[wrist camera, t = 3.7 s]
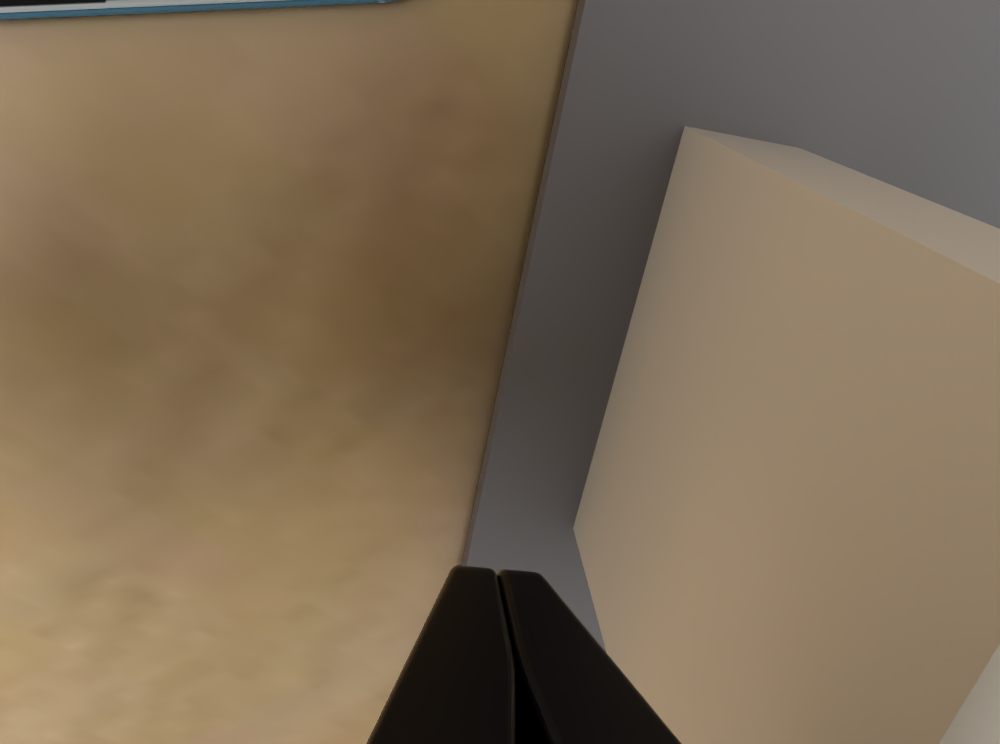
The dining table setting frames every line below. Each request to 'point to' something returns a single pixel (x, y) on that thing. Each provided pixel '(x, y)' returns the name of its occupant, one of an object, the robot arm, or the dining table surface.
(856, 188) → the tile
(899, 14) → the mat
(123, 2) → the smartphone
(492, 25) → the dining table surface
